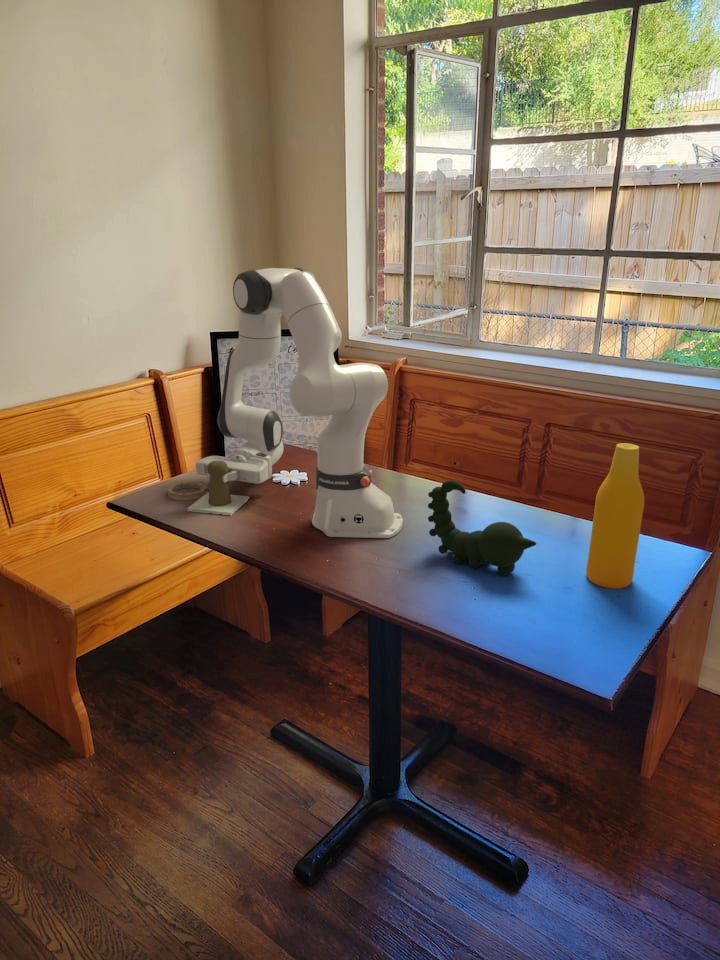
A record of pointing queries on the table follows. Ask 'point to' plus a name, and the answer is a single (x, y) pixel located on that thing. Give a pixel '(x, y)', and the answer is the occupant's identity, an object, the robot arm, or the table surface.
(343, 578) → the table surface
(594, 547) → the beer bottle
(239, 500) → the ceramic tile
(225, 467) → the cork
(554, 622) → the table surface
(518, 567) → the table surface
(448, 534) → the toy figurine
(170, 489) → the ring
